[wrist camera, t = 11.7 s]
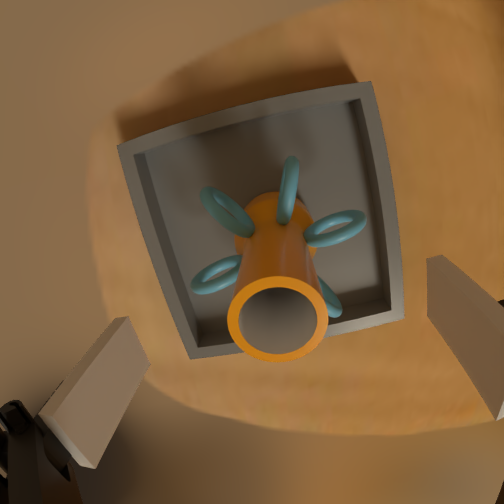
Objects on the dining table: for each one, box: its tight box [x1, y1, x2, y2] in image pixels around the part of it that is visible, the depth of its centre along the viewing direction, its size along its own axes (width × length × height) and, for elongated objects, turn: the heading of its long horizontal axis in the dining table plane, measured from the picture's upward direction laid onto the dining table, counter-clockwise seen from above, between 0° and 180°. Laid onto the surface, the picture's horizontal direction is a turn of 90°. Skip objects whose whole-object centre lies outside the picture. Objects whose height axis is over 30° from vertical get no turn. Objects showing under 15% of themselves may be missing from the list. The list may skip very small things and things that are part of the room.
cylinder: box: [190, 156, 367, 362], centre depth 20 cm, size 12×10×15 cm
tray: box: [117, 81, 404, 359], centre depth 26 cm, size 20×20×3 cm
